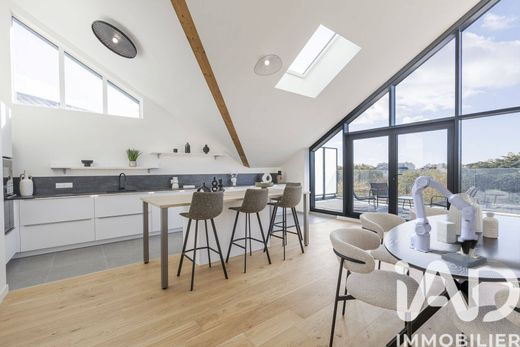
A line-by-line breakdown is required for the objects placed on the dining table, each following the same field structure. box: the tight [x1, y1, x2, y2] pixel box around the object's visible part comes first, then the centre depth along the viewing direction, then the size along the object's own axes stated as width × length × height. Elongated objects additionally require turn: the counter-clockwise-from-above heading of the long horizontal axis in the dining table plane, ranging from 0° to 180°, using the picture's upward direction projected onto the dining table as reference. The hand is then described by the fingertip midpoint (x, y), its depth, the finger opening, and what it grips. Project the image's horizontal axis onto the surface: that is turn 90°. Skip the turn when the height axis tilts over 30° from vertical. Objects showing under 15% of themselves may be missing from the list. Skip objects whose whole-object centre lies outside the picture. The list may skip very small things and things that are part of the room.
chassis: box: [441, 249, 488, 269], centre depth 131 cm, size 12×17×2 cm
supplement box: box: [436, 220, 457, 244], centre depth 164 cm, size 7×7×13 cm
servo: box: [455, 247, 480, 258], centre depth 132 cm, size 9×3×6 cm, turn 24°
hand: (467, 253), depth 132 cm, fingers closed on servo, 3 cm apart
